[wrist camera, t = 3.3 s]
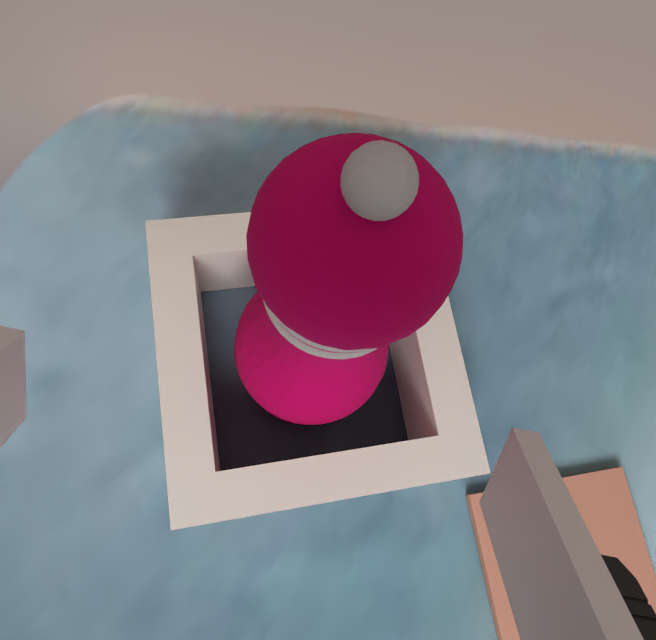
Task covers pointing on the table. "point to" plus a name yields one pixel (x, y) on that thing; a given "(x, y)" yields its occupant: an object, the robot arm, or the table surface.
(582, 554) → the robot arm
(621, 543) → the rubber mat
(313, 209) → the pepper mill
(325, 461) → the holder collar
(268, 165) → the table surface
